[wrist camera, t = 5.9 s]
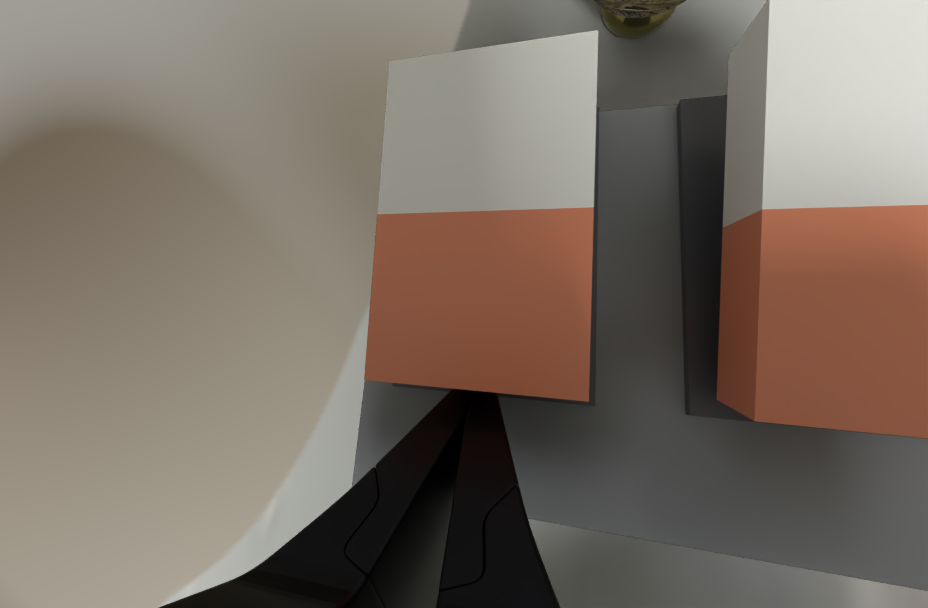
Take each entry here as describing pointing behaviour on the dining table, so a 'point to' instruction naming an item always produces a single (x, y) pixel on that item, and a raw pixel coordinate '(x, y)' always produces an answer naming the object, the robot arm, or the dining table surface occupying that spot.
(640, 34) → the cup
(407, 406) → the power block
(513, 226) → the block
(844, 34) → the block
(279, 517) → the dining table surface
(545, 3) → the dining table surface
